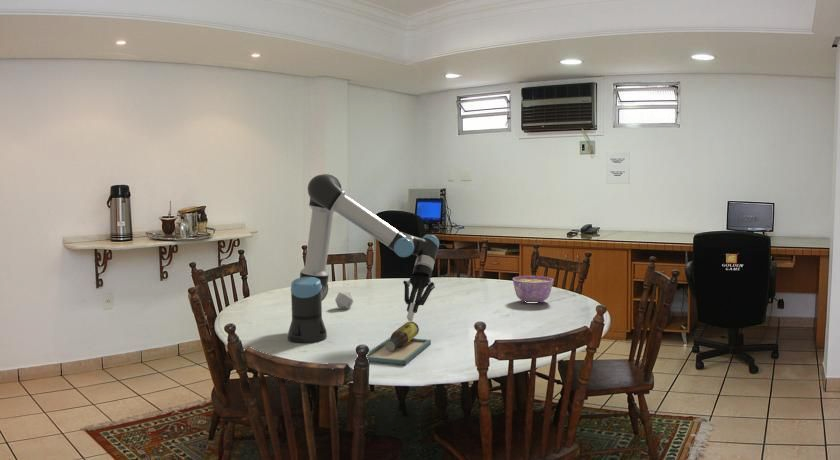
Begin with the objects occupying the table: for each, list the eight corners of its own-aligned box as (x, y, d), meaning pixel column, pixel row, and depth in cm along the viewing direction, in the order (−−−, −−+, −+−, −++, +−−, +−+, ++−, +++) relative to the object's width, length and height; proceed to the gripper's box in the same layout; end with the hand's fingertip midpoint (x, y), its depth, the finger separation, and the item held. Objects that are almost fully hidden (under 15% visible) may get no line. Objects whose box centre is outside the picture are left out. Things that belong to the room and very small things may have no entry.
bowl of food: (508, 304, 314) (508, 281, 313) (516, 297, 333) (516, 274, 332) (550, 307, 308) (550, 283, 307) (555, 299, 326) (555, 276, 325)
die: (345, 312, 303) (356, 295, 305) (330, 303, 304) (341, 286, 306) (347, 315, 311) (358, 298, 313) (332, 306, 312) (343, 289, 314)
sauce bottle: (414, 317, 248) (393, 334, 230) (422, 332, 248) (401, 350, 230) (401, 324, 251) (379, 341, 232) (409, 338, 250) (387, 356, 232)
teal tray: (391, 341, 250) (391, 336, 250) (430, 344, 245) (430, 339, 245) (361, 361, 224) (361, 356, 224) (404, 365, 219) (404, 360, 218)
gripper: (440, 275, 260) (428, 325, 246) (410, 273, 264) (396, 323, 250) (436, 264, 255) (423, 314, 241) (405, 262, 259) (390, 312, 245)
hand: (409, 319), depth 245 cm, fingers closed
